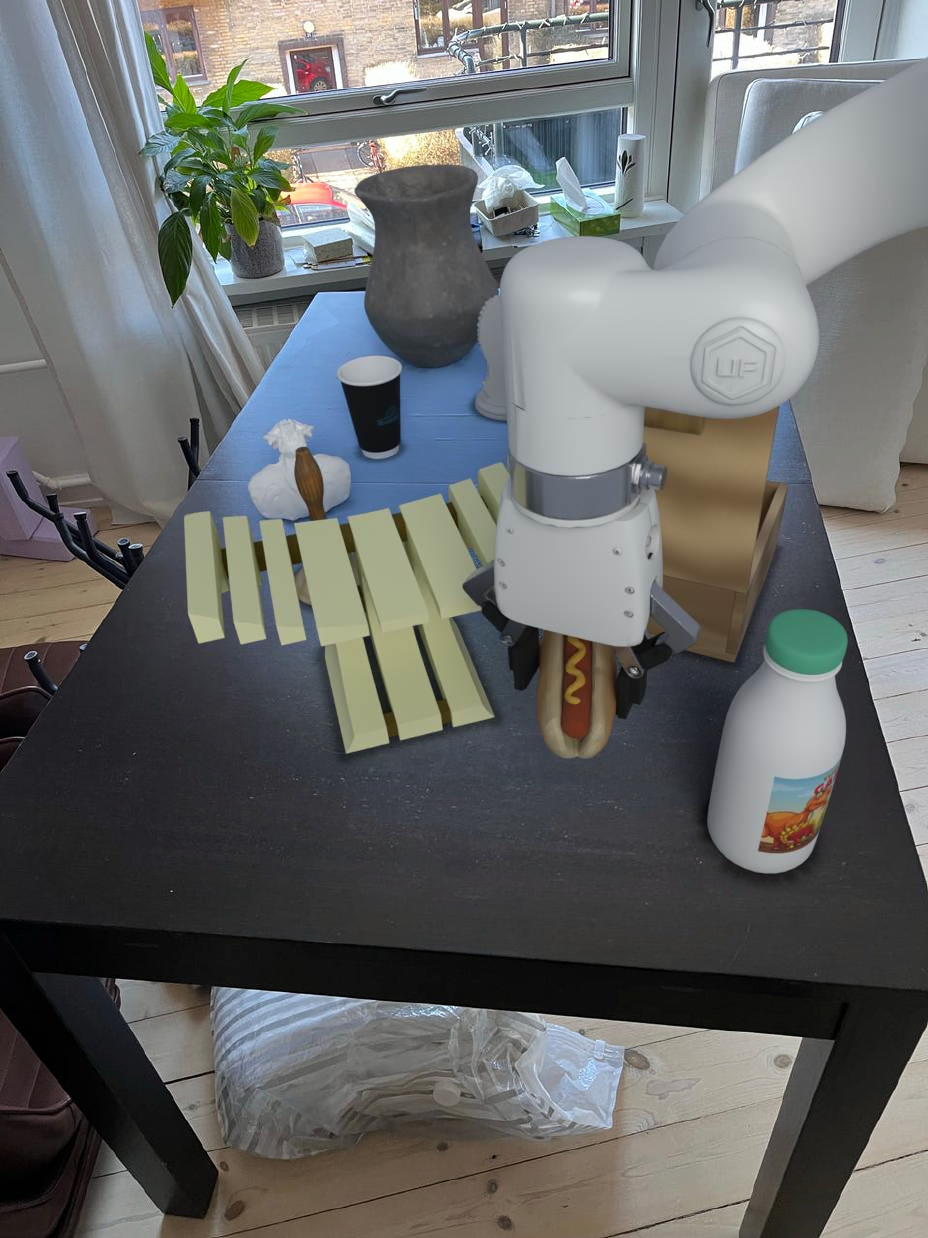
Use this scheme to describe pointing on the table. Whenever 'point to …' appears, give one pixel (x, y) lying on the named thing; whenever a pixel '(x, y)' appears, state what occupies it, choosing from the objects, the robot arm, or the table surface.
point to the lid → (710, 492)
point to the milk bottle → (781, 747)
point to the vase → (425, 263)
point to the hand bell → (312, 507)
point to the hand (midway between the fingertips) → (576, 689)
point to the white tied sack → (277, 481)
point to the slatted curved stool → (363, 601)
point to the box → (724, 608)
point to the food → (575, 694)
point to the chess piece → (492, 362)
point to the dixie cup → (374, 403)
